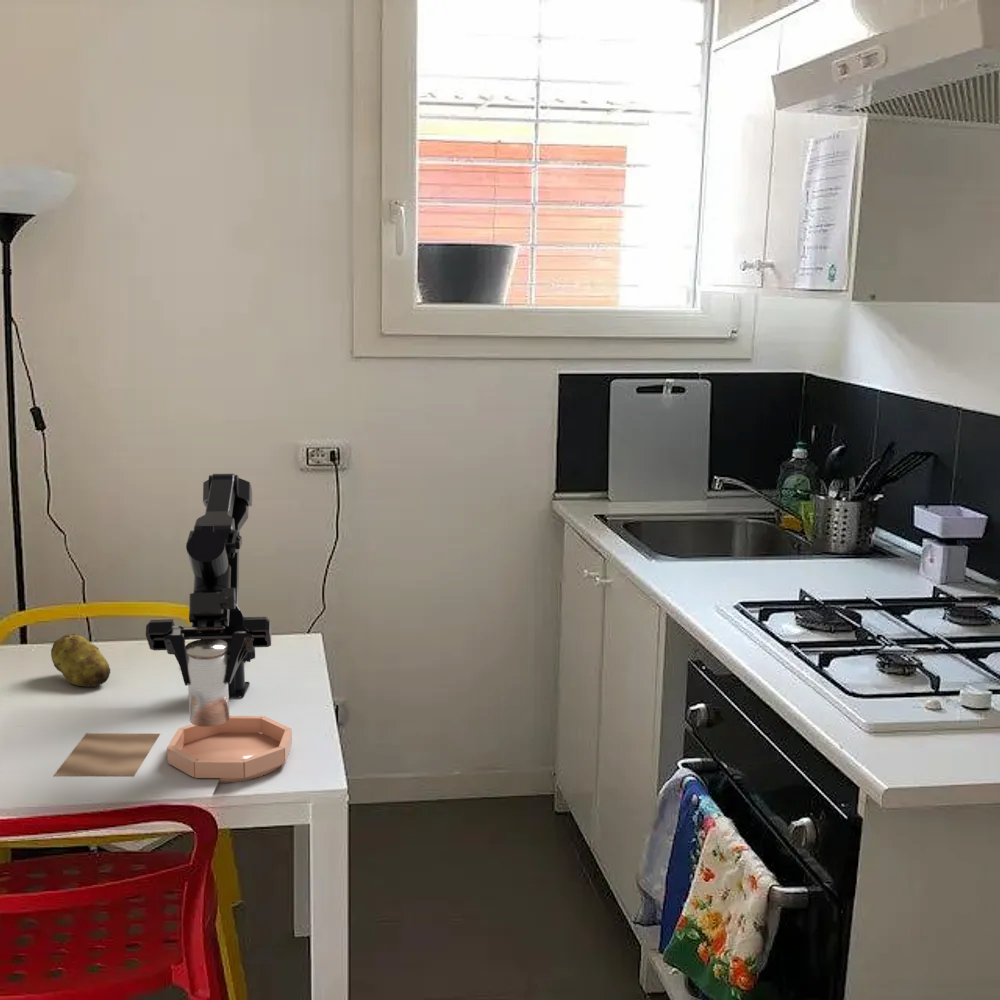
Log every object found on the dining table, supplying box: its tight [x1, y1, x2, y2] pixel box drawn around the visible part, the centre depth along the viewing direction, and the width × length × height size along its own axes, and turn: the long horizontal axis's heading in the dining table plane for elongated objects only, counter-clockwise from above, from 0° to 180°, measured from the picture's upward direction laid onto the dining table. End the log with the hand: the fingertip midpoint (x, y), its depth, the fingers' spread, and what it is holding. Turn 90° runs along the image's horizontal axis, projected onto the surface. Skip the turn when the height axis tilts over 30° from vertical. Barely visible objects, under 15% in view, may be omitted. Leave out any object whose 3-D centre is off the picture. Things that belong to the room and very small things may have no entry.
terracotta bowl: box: [166, 715, 293, 784], centre depth 191 cm, size 18×18×4 cm
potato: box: [50, 633, 111, 687], centre depth 223 cm, size 8×13×8 cm, turn 35°
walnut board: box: [53, 732, 161, 777], centre depth 191 cm, size 16×12×1 cm
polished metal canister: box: [185, 639, 230, 727], centre depth 188 cm, size 6×6×12 cm
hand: (207, 683), depth 186 cm, fingers closed on polished metal canister, 6 cm apart
